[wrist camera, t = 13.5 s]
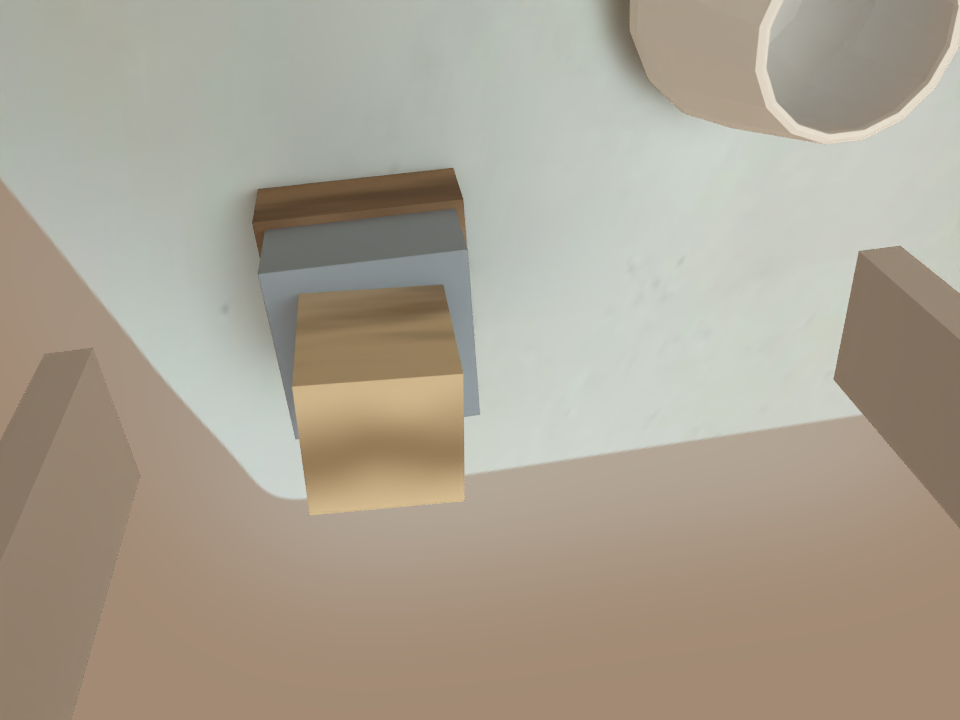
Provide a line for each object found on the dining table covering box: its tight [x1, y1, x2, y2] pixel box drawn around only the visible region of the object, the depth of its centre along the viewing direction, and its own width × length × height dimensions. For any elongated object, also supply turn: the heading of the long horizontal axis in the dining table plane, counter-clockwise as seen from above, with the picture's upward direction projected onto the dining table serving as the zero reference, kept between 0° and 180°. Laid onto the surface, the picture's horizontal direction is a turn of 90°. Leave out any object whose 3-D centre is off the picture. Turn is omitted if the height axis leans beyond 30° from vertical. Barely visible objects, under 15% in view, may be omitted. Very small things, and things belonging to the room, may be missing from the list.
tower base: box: [252, 168, 467, 258], centre depth 50 cm, size 11×11×5 cm
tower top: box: [258, 208, 480, 439], centre depth 46 cm, size 10×10×5 cm
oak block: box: [292, 285, 464, 515], centre depth 41 cm, size 7×7×8 cm
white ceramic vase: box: [629, 0, 960, 144], centre depth 40 cm, size 13×13×14 cm
